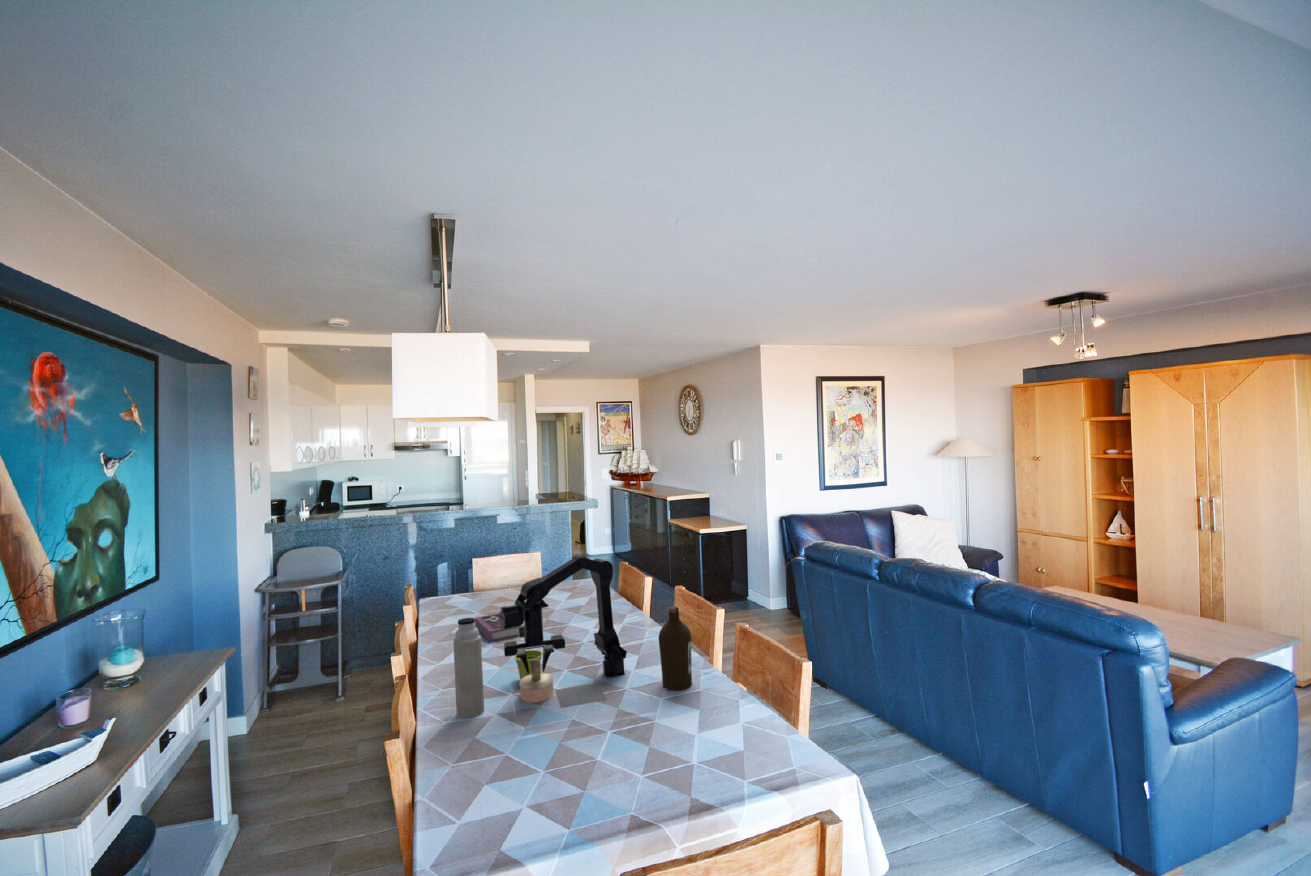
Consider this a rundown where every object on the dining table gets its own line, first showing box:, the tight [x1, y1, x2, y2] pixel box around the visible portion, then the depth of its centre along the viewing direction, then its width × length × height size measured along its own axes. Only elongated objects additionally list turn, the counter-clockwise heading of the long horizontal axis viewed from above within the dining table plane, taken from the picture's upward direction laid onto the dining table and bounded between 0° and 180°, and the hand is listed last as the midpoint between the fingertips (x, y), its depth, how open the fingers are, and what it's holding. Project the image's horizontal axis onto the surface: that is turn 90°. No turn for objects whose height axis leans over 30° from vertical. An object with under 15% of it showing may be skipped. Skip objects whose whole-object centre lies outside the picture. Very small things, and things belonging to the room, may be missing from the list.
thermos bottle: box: [453, 617, 485, 719], centre depth 178 cm, size 8×8×28 cm
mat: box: [554, 682, 608, 709], centre depth 185 cm, size 14×14×1 cm
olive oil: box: [658, 605, 693, 692], centre depth 191 cm, size 11×11×25 cm
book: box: [474, 612, 524, 643], centre depth 258 cm, size 25×16×5 cm, turn 31°
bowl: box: [519, 682, 554, 704], centre depth 186 cm, size 10×10×4 cm
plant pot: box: [513, 649, 543, 681], centre depth 200 cm, size 9×9×9 cm
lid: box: [518, 659, 554, 690], centre depth 186 cm, size 10×10×7 cm
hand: (535, 672), depth 186 cm, fingers open, 4 cm apart
